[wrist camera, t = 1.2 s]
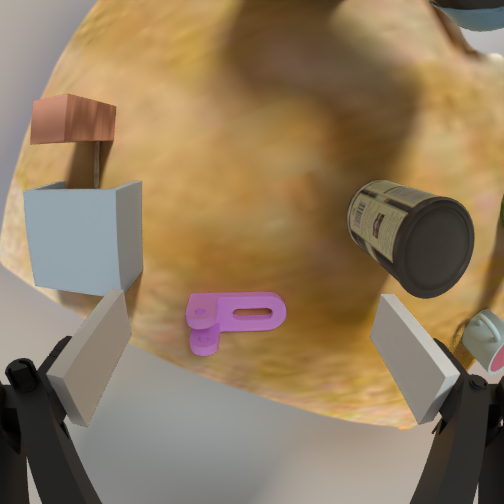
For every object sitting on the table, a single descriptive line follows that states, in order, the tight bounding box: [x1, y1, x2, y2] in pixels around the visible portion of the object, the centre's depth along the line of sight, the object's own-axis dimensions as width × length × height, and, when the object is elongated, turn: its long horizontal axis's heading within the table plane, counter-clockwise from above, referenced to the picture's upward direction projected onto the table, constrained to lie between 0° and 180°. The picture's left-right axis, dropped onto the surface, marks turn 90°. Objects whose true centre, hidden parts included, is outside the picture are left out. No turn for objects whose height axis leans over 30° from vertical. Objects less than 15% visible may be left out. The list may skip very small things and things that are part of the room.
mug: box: [462, 309, 504, 375], centre depth 41 cm, size 14×9×10 cm
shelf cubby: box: [23, 181, 143, 296], centre depth 32 cm, size 12×13×8 cm
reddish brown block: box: [30, 94, 116, 189], centre depth 29 cm, size 19×5×12 cm, turn 175°
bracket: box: [185, 292, 287, 356], centre depth 38 cm, size 13×6×7 cm, turn 91°
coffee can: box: [347, 180, 475, 299], centre depth 31 cm, size 10×10×14 cm
